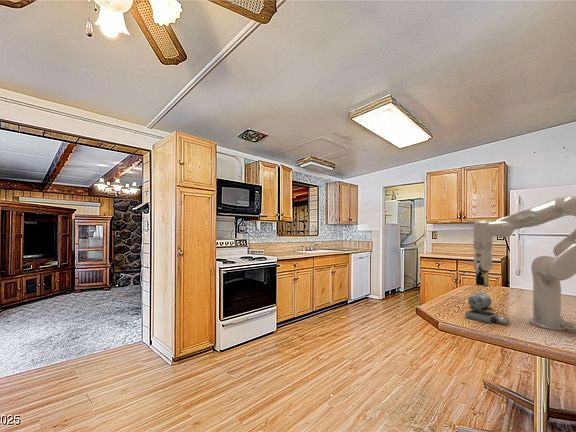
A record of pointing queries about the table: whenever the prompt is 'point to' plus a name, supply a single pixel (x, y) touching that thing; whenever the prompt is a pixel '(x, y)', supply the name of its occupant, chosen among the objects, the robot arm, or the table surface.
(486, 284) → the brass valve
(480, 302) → the grey-teal rounded cylinder
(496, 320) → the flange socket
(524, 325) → the table surface
